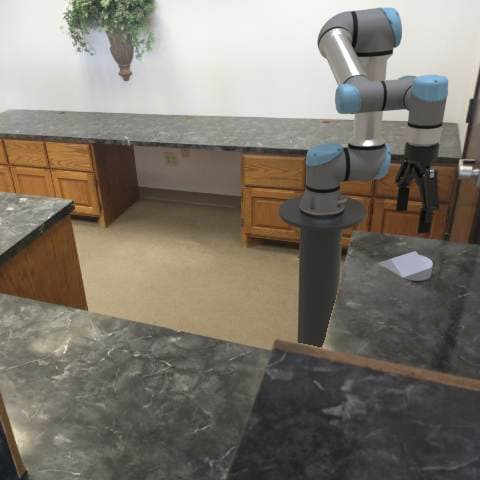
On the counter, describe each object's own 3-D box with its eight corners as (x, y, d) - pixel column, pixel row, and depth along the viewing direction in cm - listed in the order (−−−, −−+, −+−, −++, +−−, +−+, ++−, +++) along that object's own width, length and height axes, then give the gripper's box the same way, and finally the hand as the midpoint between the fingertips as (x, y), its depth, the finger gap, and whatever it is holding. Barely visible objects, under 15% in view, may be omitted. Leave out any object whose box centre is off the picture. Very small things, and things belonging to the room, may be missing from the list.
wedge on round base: (401, 288, 134) (438, 275, 138) (404, 266, 131) (442, 253, 135) (376, 273, 142) (412, 261, 146) (378, 252, 139) (415, 240, 143)
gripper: (464, 156, 112) (449, 241, 122) (416, 127, 135) (406, 201, 144) (430, 160, 113) (417, 244, 122) (387, 130, 135) (379, 203, 145)
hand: (411, 221), depth 133 cm, fingers open, 13 cm apart
